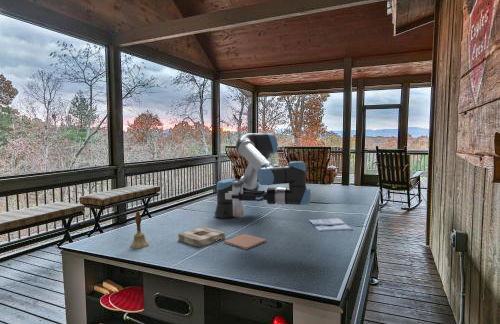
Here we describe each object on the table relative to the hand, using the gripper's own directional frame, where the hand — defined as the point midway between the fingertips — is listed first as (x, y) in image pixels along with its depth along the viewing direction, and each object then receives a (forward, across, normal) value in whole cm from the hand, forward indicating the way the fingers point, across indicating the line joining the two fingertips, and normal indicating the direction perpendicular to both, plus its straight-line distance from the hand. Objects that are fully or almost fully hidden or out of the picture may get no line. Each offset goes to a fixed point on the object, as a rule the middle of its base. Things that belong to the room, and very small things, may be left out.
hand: (227, 195), depth 142 cm
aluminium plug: (-5, 0, -10) cm, 11 cm away
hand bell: (+40, -11, -23) cm, 47 cm away
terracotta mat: (-8, +1, -23) cm, 24 cm away
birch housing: (+14, +2, -22) cm, 27 cm away
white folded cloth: (-48, +35, -23) cm, 64 cm away
